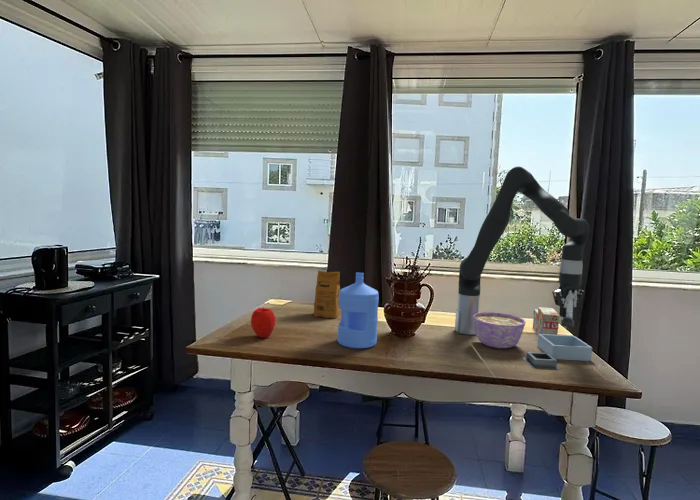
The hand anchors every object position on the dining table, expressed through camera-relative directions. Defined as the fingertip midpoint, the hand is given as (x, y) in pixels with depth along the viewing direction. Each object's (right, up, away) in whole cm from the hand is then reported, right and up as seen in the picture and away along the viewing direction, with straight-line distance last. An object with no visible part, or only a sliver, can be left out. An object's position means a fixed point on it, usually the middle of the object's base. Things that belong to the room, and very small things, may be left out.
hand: (566, 316), depth 163 cm
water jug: (-79, -12, +8) cm, 81 cm away
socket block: (-14, -16, -10) cm, 24 cm away
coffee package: (-94, -7, +46) cm, 105 cm away
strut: (0, -3, 0) cm, 4 cm away
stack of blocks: (+4, -13, +28) cm, 31 cm away
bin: (-1, -15, +2) cm, 15 cm away
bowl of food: (-23, -14, +9) cm, 29 cm away
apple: (-117, -10, +10) cm, 118 cm away
